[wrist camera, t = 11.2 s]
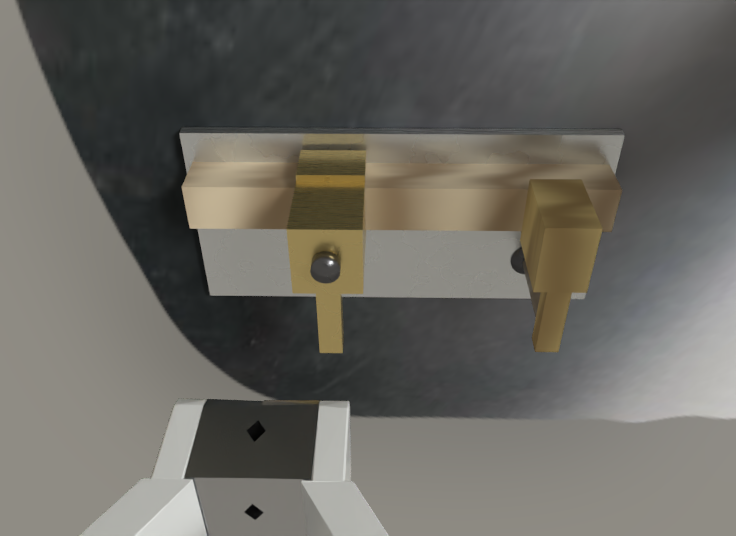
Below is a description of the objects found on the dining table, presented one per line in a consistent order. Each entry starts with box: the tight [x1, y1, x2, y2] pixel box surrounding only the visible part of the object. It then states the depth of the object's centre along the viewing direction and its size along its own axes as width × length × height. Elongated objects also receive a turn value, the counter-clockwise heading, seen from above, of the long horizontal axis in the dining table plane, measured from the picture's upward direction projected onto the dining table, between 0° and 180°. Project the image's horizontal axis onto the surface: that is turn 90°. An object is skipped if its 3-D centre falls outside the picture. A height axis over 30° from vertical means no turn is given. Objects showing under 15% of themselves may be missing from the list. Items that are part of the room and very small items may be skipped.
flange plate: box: [179, 127, 625, 299], centre depth 46 cm, size 27×13×1 cm, turn 90°
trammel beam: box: [182, 162, 622, 352], centre depth 43 cm, size 26×9×8 cm, turn 90°
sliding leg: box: [287, 150, 366, 353], centre depth 42 cm, size 4×10×9 cm, turn 0°
